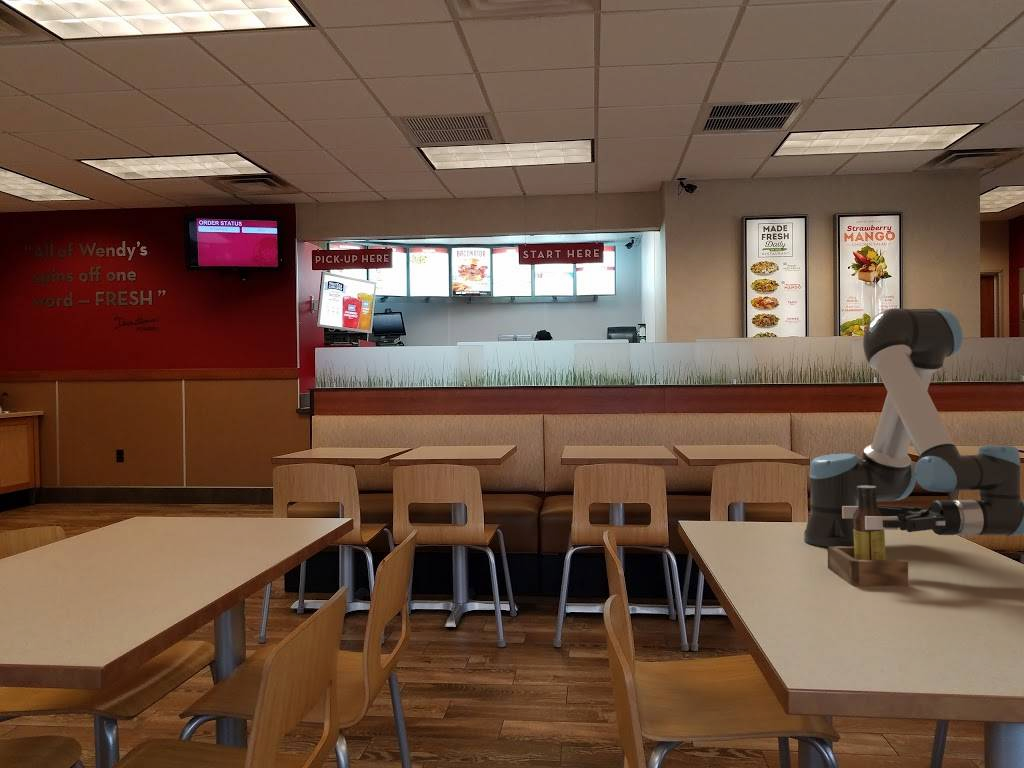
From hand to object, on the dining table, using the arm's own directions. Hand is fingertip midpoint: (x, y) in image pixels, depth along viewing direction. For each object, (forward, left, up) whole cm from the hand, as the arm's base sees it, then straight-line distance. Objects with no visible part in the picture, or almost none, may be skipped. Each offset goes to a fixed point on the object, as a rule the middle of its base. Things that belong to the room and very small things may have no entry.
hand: (853, 517), depth 168 cm
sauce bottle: (+2, +3, -13) cm, 14 cm away
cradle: (+2, +3, -13) cm, 13 cm away
